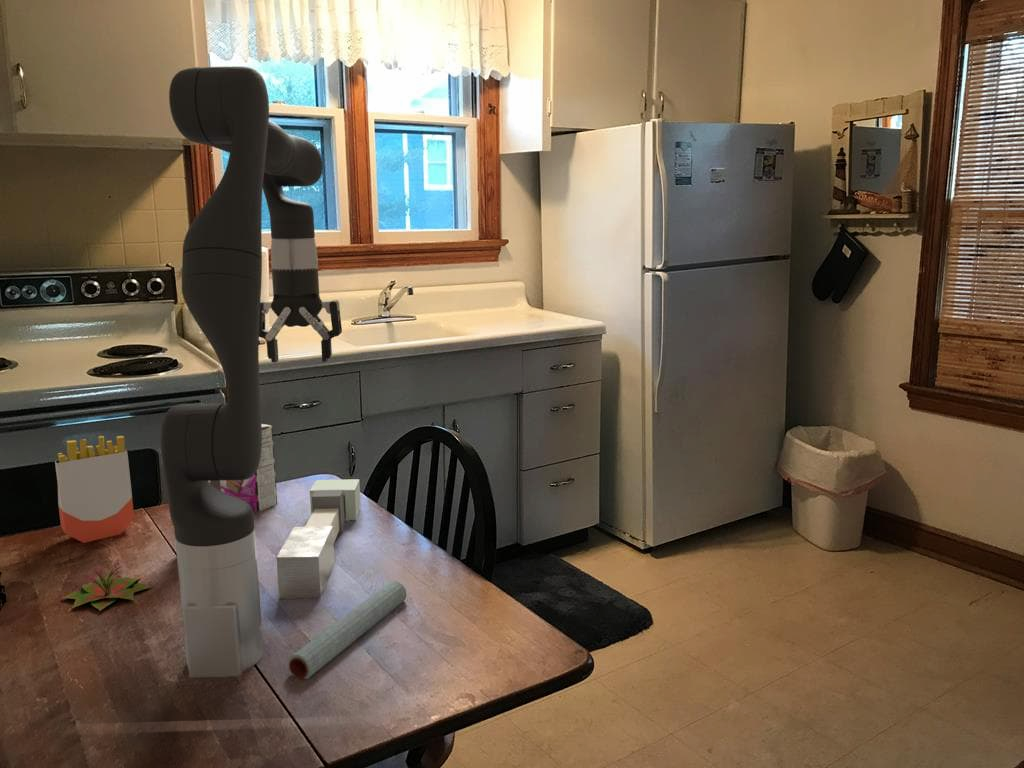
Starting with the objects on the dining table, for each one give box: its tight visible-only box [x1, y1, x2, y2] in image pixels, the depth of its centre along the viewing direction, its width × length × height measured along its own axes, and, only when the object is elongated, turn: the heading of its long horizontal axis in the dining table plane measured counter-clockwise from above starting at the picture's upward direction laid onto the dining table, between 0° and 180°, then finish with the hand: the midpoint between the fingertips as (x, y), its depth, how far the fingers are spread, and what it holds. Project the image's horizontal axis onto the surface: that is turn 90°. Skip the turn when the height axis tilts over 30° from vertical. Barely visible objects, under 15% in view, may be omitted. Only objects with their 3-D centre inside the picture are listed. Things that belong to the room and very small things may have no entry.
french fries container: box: [54, 435, 135, 544], centre depth 143 cm, size 5×11×18 cm, turn 128°
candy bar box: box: [218, 423, 278, 512], centre depth 158 cm, size 11×5×16 cm, turn 58°
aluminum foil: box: [287, 580, 407, 680], centre depth 111 cm, size 23×7×3 cm, turn 156°
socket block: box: [309, 478, 362, 521], centre depth 152 cm, size 8×6×6 cm
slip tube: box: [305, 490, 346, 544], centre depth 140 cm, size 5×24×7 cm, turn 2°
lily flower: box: [60, 562, 153, 612], centre depth 123 cm, size 12×12×5 cm
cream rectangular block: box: [276, 525, 335, 600], centre depth 126 cm, size 6×12×6 cm, turn 2°
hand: (300, 361), depth 142 cm, fingers open, 8 cm apart
